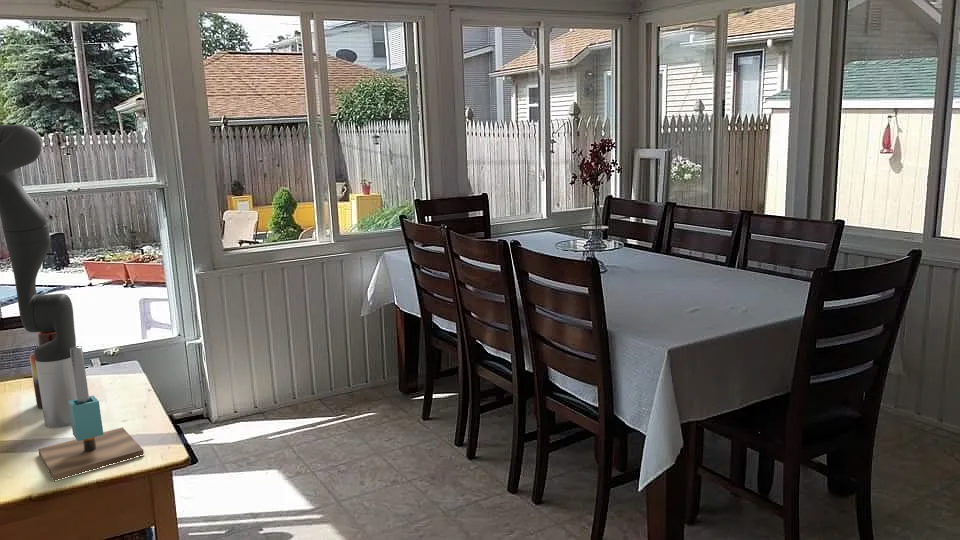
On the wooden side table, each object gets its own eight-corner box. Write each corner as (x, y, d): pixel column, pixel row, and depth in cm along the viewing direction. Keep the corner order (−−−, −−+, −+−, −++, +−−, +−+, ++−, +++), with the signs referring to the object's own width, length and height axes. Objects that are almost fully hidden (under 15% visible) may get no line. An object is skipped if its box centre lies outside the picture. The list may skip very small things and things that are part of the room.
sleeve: (73, 434, 167) (68, 401, 165) (98, 428, 170) (93, 395, 168) (77, 441, 163) (72, 407, 161) (103, 434, 166) (98, 401, 164)
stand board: (39, 455, 168) (38, 449, 168) (123, 433, 180) (122, 427, 179) (53, 481, 155) (52, 475, 154) (144, 455, 166) (143, 449, 165)
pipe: (82, 449, 167) (67, 347, 163) (95, 445, 169) (80, 345, 164) (85, 452, 165) (70, 350, 161) (97, 449, 167) (83, 347, 162)
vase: (90, 395, 208) (80, 326, 204) (65, 409, 197) (54, 336, 193) (54, 395, 209) (44, 326, 205) (28, 409, 198) (16, 337, 195)
